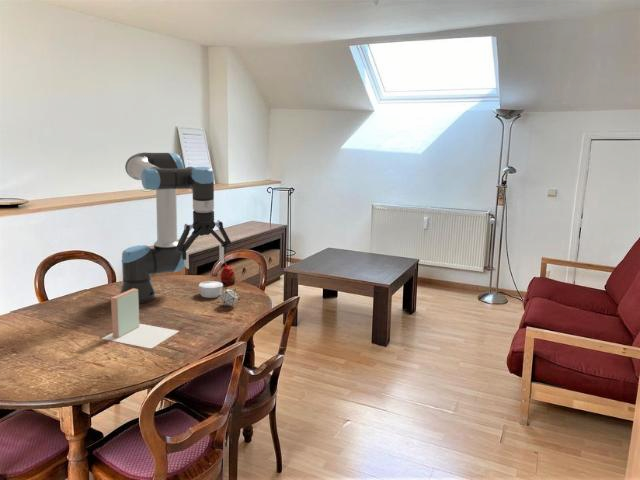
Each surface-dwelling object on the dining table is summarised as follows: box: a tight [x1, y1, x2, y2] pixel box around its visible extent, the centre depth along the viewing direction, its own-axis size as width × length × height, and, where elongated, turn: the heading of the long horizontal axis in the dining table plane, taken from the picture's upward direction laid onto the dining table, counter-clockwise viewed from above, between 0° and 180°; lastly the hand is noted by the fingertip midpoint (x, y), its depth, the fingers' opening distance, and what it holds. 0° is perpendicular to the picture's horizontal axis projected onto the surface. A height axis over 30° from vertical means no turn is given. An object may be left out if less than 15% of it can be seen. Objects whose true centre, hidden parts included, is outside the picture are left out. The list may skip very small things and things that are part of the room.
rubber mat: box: [101, 323, 180, 349], centre depth 181 cm, size 21×17×1 cm
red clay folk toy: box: [220, 255, 236, 286], centre depth 247 cm, size 8×7×15 cm
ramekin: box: [198, 280, 224, 299], centre depth 230 cm, size 11×11×5 cm
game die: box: [217, 287, 241, 309], centre depth 216 cm, size 9×8×10 cm
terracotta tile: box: [110, 288, 140, 338], centre depth 182 cm, size 12×2×15 cm, turn 162°
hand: (204, 264), depth 186 cm, fingers open, 13 cm apart
